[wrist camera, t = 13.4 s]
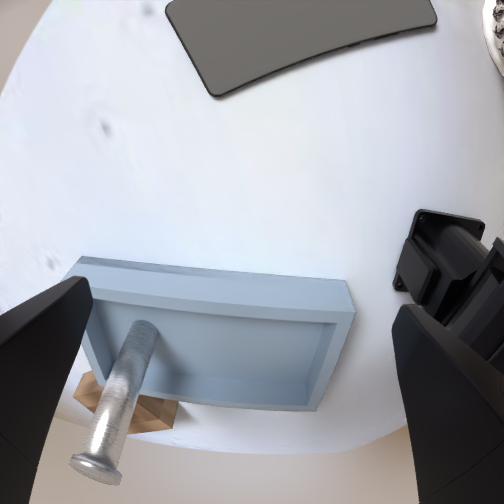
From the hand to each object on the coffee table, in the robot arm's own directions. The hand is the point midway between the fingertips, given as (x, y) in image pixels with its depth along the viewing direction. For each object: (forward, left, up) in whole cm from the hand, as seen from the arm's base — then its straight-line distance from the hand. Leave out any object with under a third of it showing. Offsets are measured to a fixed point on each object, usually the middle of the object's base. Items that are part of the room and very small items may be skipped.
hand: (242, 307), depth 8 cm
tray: (+3, +13, -12) cm, 18 cm away
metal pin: (+8, +13, -11) cm, 19 cm away
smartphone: (-2, -11, -13) cm, 17 cm away
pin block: (+12, +24, -12) cm, 29 cm away
